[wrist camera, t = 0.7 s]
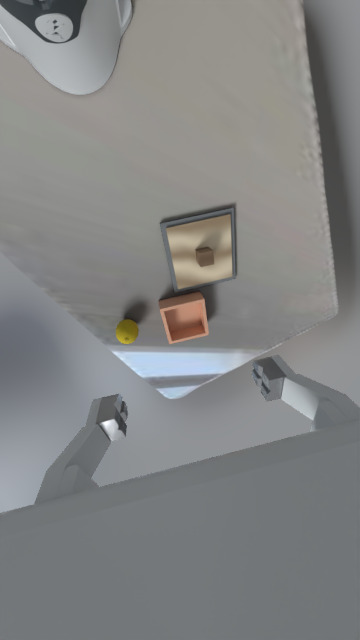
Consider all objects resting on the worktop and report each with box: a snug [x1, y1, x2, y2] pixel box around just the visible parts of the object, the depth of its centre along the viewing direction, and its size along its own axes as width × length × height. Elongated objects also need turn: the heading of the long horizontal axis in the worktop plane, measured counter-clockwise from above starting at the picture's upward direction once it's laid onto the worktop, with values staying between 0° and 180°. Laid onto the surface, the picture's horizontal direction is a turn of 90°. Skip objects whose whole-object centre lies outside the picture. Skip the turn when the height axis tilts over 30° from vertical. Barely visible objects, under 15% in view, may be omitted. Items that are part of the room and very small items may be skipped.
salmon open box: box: [159, 291, 209, 344], centre depth 52 cm, size 11×11×5 cm
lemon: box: [116, 319, 138, 344], centre depth 49 cm, size 6×6×8 cm
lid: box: [166, 214, 233, 289], centre depth 43 cm, size 14×14×5 cm
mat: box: [160, 208, 236, 293], centre depth 45 cm, size 16×16×1 cm
